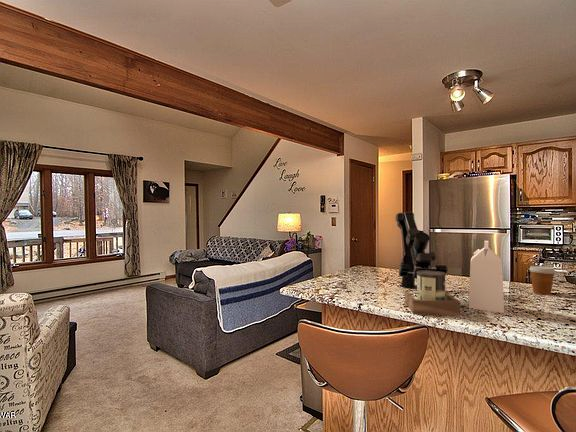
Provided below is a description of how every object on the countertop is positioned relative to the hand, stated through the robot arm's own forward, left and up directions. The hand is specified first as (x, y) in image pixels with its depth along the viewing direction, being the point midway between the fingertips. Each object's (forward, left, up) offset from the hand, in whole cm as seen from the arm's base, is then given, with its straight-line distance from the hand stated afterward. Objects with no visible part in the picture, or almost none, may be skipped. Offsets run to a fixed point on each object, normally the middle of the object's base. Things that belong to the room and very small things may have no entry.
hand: (426, 287), depth 131 cm
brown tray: (+3, +3, -7) cm, 8 cm away
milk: (-16, +16, -7) cm, 24 cm away
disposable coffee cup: (-58, +23, -7) cm, 63 cm away
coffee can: (+4, +4, -7) cm, 9 cm away
